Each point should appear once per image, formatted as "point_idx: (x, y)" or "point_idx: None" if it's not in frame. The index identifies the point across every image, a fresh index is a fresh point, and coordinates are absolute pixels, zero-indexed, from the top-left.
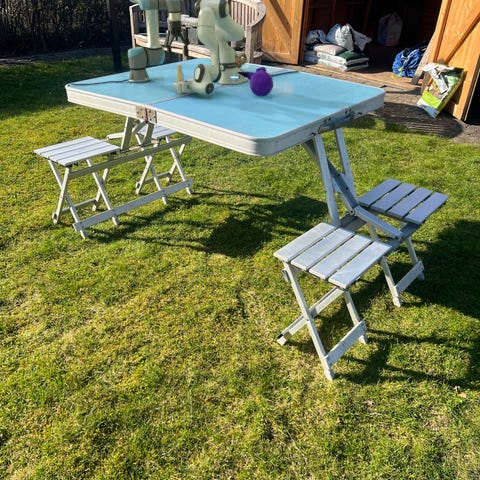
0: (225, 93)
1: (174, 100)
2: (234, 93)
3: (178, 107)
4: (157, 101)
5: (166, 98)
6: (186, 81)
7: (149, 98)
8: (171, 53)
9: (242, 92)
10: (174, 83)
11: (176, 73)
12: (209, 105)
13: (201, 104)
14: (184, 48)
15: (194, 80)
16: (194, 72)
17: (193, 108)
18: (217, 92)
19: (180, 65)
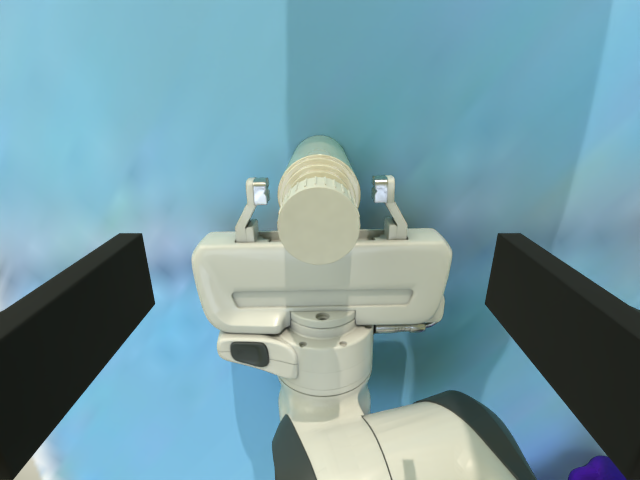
0: (481, 370)
1: (168, 294)
2: (508, 400)
3: (112, 411)
4: (71, 242)
5: (153, 219)
6: (253, 355)
7: (55, 130)
8: (100, 361)
9: (551, 412)
10: (193, 269)
11: (278, 195)
12: (246, 470)
13: (230, 440)
14: (588, 342)
15: (298, 397)
16: (277, 476)
17: (161, 461)
18: (477, 323)
19: (314, 262)
